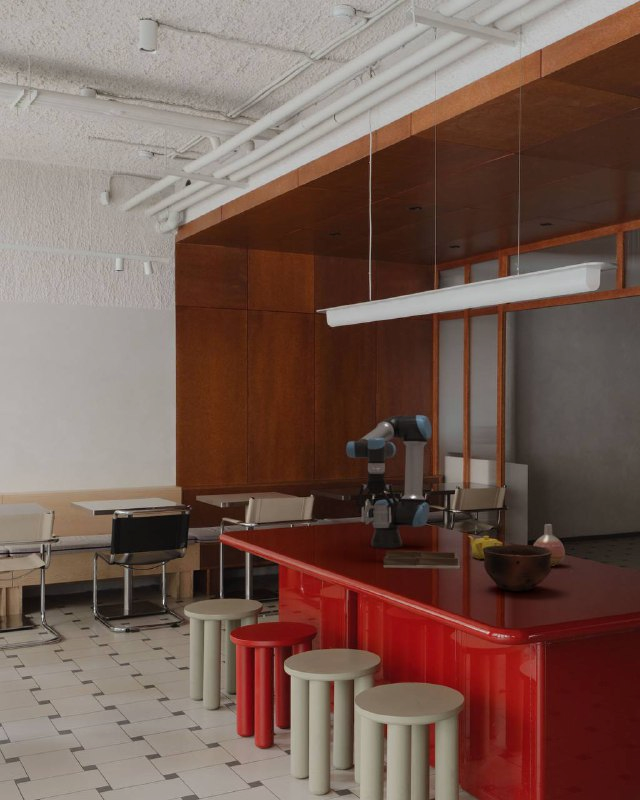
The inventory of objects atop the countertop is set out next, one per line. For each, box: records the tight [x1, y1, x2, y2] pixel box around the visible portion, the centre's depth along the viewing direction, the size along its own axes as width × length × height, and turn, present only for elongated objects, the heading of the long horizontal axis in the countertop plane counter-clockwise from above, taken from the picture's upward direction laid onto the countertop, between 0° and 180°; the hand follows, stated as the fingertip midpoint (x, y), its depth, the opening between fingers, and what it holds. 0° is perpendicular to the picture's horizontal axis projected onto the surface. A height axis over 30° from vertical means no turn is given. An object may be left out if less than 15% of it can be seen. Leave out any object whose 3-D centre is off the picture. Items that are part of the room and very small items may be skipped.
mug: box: [363, 499, 390, 529], centre depth 400 cm, size 8×12×12 cm, turn 100°
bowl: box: [483, 544, 552, 592], centre depth 335 cm, size 25×25×15 cm
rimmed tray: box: [383, 550, 461, 570], centre depth 392 cm, size 20×32×4 cm, turn 83°
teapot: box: [467, 535, 503, 560], centre depth 406 cm, size 14×13×10 cm
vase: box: [532, 523, 566, 566], centre depth 387 cm, size 14×14×18 cm
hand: (376, 522), depth 400 cm, fingers closed on mug, 11 cm apart
